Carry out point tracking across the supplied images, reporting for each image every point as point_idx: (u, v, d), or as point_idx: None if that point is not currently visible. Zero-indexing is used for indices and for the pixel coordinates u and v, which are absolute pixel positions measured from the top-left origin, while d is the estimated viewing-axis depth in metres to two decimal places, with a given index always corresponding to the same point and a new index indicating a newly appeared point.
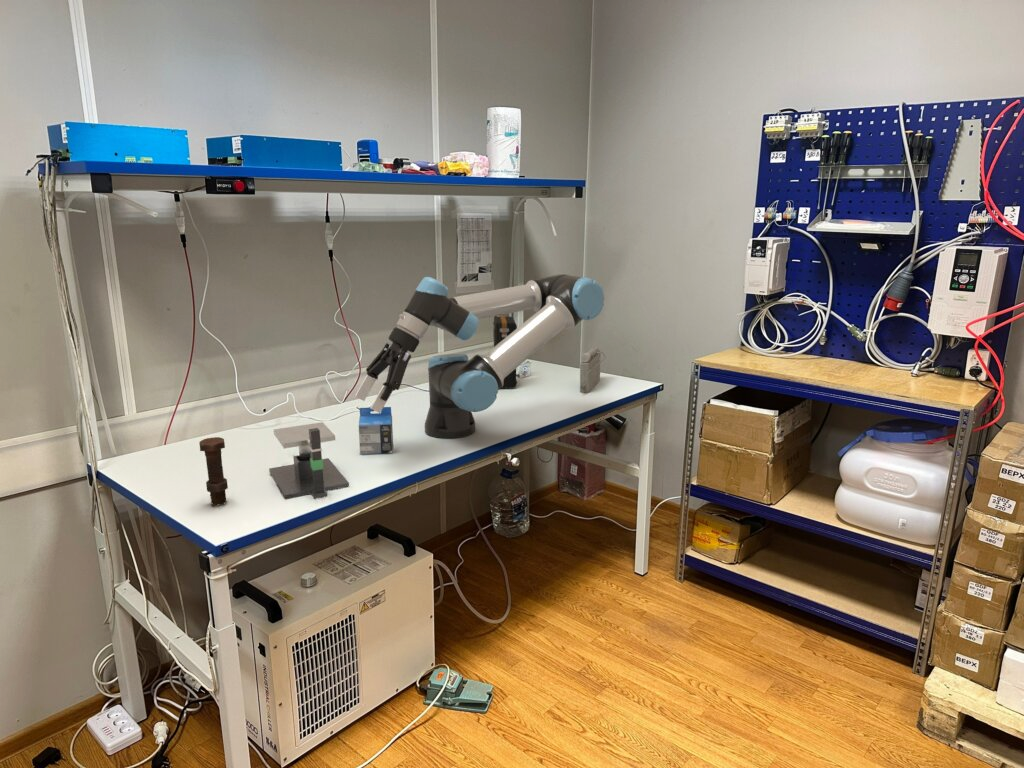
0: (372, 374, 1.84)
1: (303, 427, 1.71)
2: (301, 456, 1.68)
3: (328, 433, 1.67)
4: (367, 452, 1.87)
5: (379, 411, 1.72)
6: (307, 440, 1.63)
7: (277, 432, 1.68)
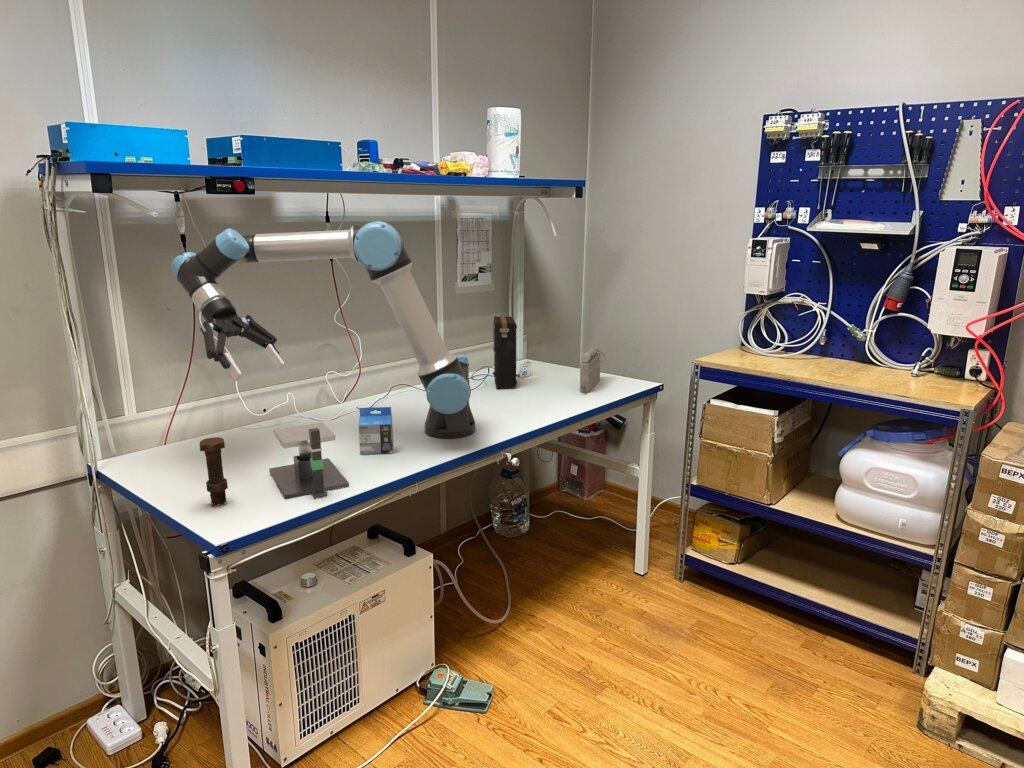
0: (266, 344, 1.78)
1: (303, 427, 1.71)
2: (301, 456, 1.68)
3: (328, 433, 1.67)
4: (367, 452, 1.87)
5: (238, 374, 1.65)
6: (307, 440, 1.63)
7: (277, 432, 1.68)
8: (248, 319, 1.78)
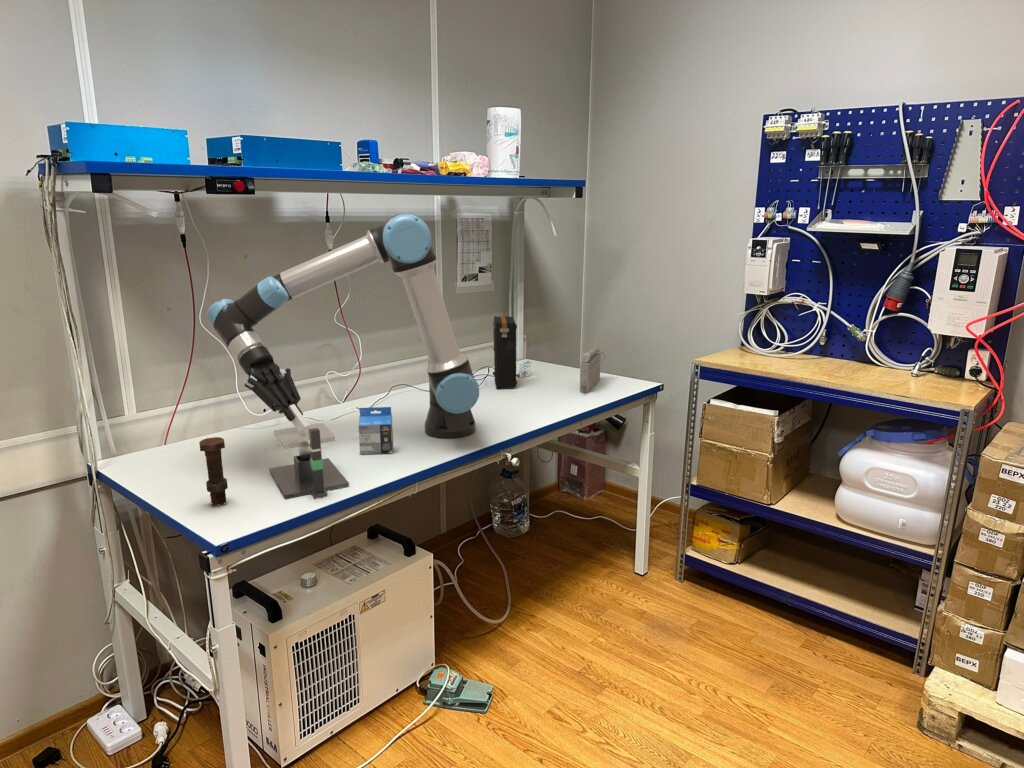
0: (290, 405, 1.69)
1: None
2: (301, 457, 1.68)
3: (328, 434, 1.67)
4: (367, 452, 1.87)
5: (303, 426, 1.66)
6: (307, 441, 1.63)
7: (277, 433, 1.68)
8: (285, 371, 1.73)
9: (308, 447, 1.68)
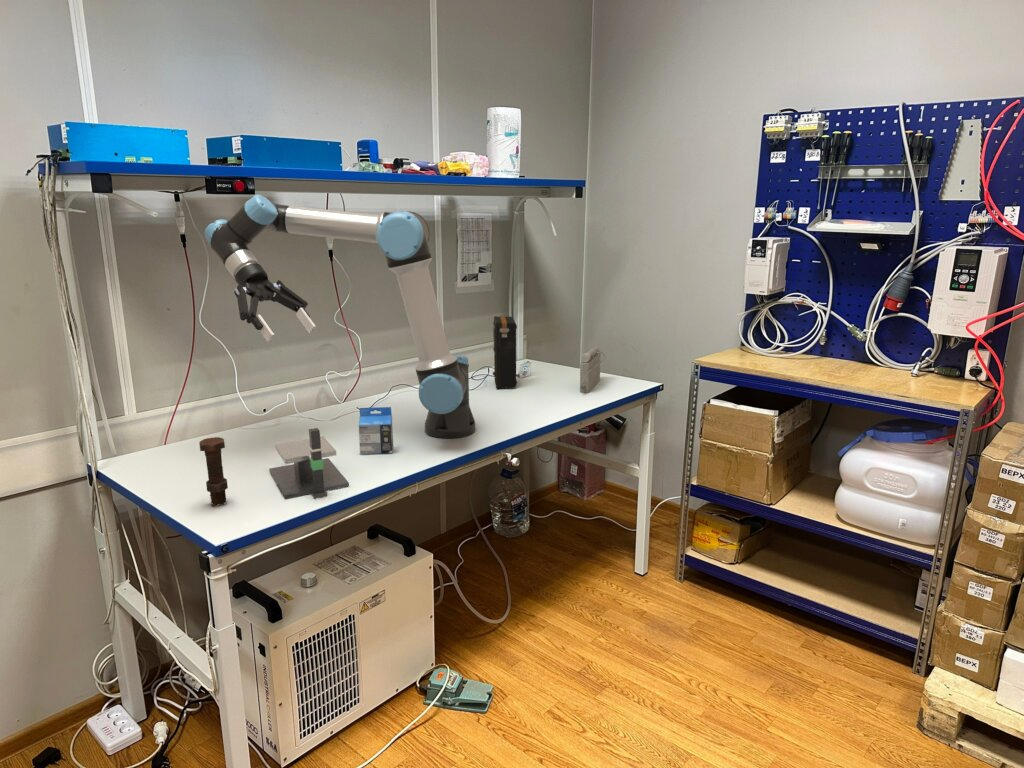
0: (298, 308, 1.83)
1: (304, 442, 1.72)
2: None
3: (329, 448, 1.68)
4: (367, 452, 1.87)
5: (270, 335, 1.70)
6: (308, 455, 1.64)
7: (278, 447, 1.69)
8: (279, 284, 1.83)
9: None
